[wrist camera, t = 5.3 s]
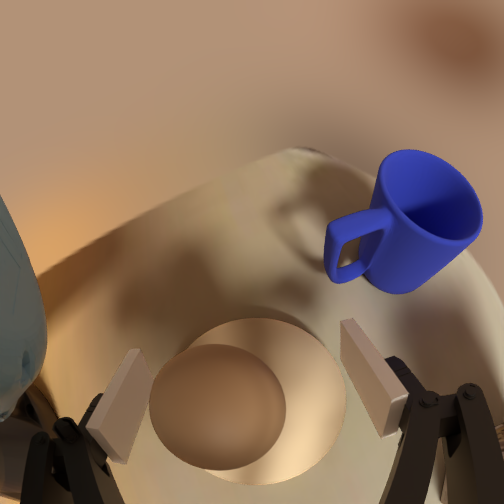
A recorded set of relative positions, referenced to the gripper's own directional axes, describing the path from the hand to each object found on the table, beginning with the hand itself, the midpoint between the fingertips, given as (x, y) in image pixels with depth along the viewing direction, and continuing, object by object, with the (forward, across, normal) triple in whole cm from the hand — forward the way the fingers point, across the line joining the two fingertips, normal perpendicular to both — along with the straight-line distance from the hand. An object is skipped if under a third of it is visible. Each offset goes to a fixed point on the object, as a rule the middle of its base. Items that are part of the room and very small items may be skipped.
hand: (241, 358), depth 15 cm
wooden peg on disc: (+2, 0, -6) cm, 6 cm away
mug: (+9, +12, 0) cm, 15 cm away
